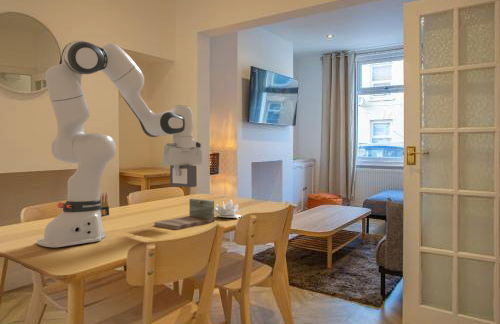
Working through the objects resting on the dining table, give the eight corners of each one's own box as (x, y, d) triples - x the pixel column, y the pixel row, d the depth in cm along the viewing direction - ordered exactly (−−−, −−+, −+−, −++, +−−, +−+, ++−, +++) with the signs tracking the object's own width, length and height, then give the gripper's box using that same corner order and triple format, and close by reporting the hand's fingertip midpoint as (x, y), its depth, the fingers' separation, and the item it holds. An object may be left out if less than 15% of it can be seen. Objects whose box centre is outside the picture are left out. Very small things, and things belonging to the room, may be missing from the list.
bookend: (177, 229, 146) (177, 206, 146) (154, 225, 154) (154, 203, 154) (214, 221, 164) (214, 200, 163) (191, 218, 172) (191, 198, 172)
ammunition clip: (90, 220, 168) (89, 194, 168) (87, 219, 169) (87, 193, 169) (109, 216, 178) (109, 192, 177) (106, 216, 179) (106, 192, 178)
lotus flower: (242, 220, 168) (242, 201, 168) (209, 220, 168) (209, 201, 168) (243, 215, 182) (243, 198, 182) (213, 215, 183) (213, 197, 183)
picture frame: (189, 187, 153) (189, 165, 152) (170, 185, 160) (170, 165, 160) (196, 186, 156) (196, 165, 156) (177, 185, 163) (177, 165, 163)
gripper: (169, 142, 147) (169, 177, 147) (204, 144, 164) (204, 174, 164) (159, 143, 151) (159, 176, 151) (194, 144, 167) (194, 174, 168)
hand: (183, 175), depth 158 cm, fingers closed on picture frame, 4 cm apart
